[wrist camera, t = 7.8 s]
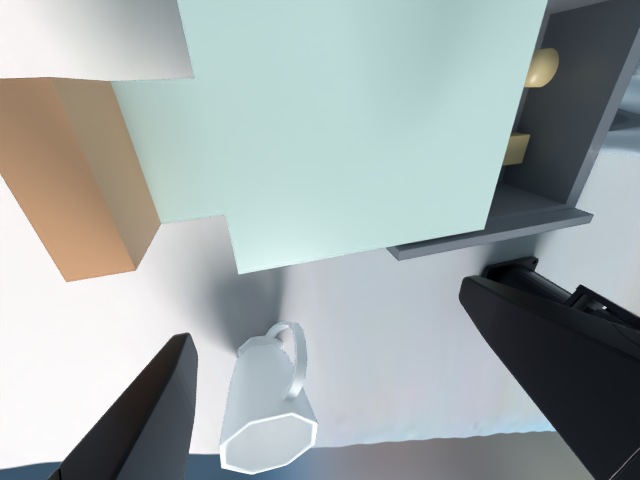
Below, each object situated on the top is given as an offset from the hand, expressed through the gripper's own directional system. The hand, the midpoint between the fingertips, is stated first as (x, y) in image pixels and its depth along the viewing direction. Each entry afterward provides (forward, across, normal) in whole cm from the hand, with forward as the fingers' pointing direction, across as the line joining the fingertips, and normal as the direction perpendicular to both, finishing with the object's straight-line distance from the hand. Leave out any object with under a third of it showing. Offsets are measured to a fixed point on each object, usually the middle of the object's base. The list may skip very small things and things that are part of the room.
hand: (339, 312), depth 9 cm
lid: (+6, -1, -4) cm, 8 cm away
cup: (+13, +3, +14) cm, 19 cm away
